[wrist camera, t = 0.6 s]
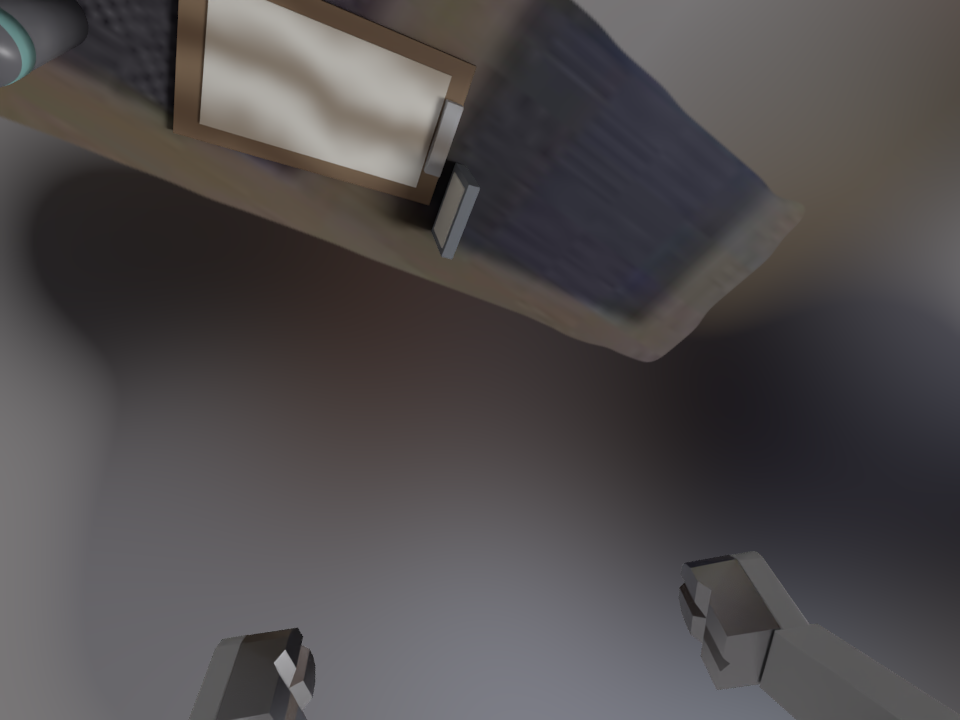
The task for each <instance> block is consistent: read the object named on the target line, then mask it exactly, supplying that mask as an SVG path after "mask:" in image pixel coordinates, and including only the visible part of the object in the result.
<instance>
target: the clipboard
mask: <svg viewBox="0 0 960 720" xmlns="http://www.w3.org/2000/svg"><path fill="white" fill-rule="evenodd" d="M475 70H476V66H475V65H473V64H470V63H468V62H466V61H463V60H461V59H459V58H456V57H454V56H452V55H449V54H447V53H445V52H442V51H440V50H438V49H435V48H433V47H431V46H428V45H426V44H424V43H421V42H419V41H417V40H414V39H412V38H409V37H407V36H405V35H402V34H400V33H398V32H395V31H393V30H391V29H388V28H386V27H384V26H381V25H379V24H377V23H374V22H372V21H370V20H367V19H365V18H363V17H360V16H358V15H356V14H353V13H351V12H349V11H346V10H344V9H342V8H339V7H337V6H335V5H332V4H330V3H328V2H325V1H323V0H179V6H178V29H177V52H176V75H175V98H174V121H173V133H176V134H179V135H183V136H186V137H190V138H193V139H197V140H201V141H204V142H208V143H211V144H215V145H218V146H222V147H225V148H229V149H232V150H236V151H239V152H243V153H246V154H250V155H253V156H257V157H260V158H264V159H267V160H271V161H275V162H278V163H282V164H285V165H289V166H292V167H296V168H299V169H303V170H306V171H310V172H313V173H317V174H320V175H324V176H327V177H331V178H334V179H338V180H341V181H345V182H349V183H352V184H356V185H359V186H363V187H366V188H370V189H373V190H377V191H380V192H384V193H387V194H391V195H394V196H398V197H401V198H405V199H408V200H412V201H415V202H419V203H423V204H426V205H429V204H430V201H431V198H432V195H433V192H434V189H435V186H436V184H437V181H438V178H439V177H440V175H441V172H442V169H443V166H444V163H445V161H446V158H447V155H448V152H449V149H450V146H451V143H452V140H453V137H454V134H455V132H456V129H457V126H458V123H459V120H460V117H461V114H462V111H463V108H464V107H463V105H464V102H465V99H466V96H467V93H468V90H469V87H470V84H471V81H472V79H473V76H474V73H475Z"/></svg>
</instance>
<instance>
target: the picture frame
mask: <svg viewBox="0 0 960 720" xmlns="http://www.w3.org/2000/svg"><path fill="white" fill-rule="evenodd" d="M479 190H480V187H479V186H478V184H477V182H476V181H475V179H474V178H473V176H472V175H471V173H470V171H469V170H468V168H467V167H466V166H465V165H461V164H458V163H455V166H454V168H453V171H452V174H451V177H450V180H449V182H448V185H447V188H446V191H445V194H444V197H443V199H442V202H441V205H440V208H439V211H438V213H437V216H436V219H435V222H434V225H433V227H432V230H431V231H432V234H433V236H434V239H435V241H436V244H437V246H438V249H439V251H440V254H441V256H442V257H445V258H449V259H452V258H453V256H454V253H455V251H456V248H457V246H458V243H459V241H460V238H461V235H462V233H463V230H464V228H465V225H466V223H467V220H468V218H469V215H470V213H471V210H472V208H473V205H474V202H475V200H476V197H477V195H478V192H479Z"/></svg>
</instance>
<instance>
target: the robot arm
mask: <svg viewBox="0 0 960 720" xmlns="http://www.w3.org/2000/svg"><path fill="white" fill-rule="evenodd" d="M681 576H682V578H683V580H684V583H683V585H681V586H680V588H679V602H680V607H681V612H682V615H683V618H684V620H685V623H686V625H687V627H688V630H689V632H690V634H691V635H692V636H693V637H695V638H696V639H697V640H699V641H700V642H701V643H702V651H701V658H702V660H703V662H704V664H705V666H706V668H707V670H708V673H709V675H710V677H711V679H712V681H713V683H714V685H715V687H716V689H717V690H721V689H728V688H736V687H743V686H750V685H758V684H760V688H761V689H763V690H764V691H765V692H766V693H767V694H768V695H769V696H770V697H772V698H773V699H774V700H775V701H776V702H777V703H779V705H780V706H782V707H783V708H784V709H785V710H786V711H787V712H788V713H789V714H791V715H792V716H793V717H794V718H795V719H796V720H960V715H959V714H958V713H956V712H954V711H953V710H951V709H950V708H948V707H947V706H945V705H944V704H942V703H940V702H939V701H937V700H936V699H934V698H932V697H931V696H929V695H928V694H926V693H924V692H923V691H922V690H920V689H919V688H917V687H915V686H914V685H912V684H911V683H909V682H908V681H906V680H904V679H903V678H901V677H899V676H898V675H897V674H895V673H893V672H892V671H890V670H889V669H887V668H886V667H884V666H883V665H881V664H879V663H878V662H876V661H875V660H873V659H872V658H870V657H868V656H867V655H865V654H864V653H862V652H861V651H859V650H858V649H856V648H854V647H853V646H851V645H850V644H848V643H847V642H845V641H844V640H842V639H840V638H839V637H837V636H836V635H834V634H832V633H831V632H829V631H828V630H826V629H825V628H823V627H822V626H820V625H818V624H809V623H808V621H807V620H806V619H805V617H804V616H803V614H802V613H801V611H800V610H799V609H798V607H797V606H796V604H795V603H794V601H793V600H792V599H791V597H790V596H789V594H788V593H787V591H786V590H785V589H784V587H783V586H782V584H781V583H780V582H779V580H778V579H777V577H776V576H775V574H774V573H773V572H772V570H771V569H770V567H769V566H768V565H767V563H766V562H765V560H764V559H763V557H762V556H761V555H760V554H758V553H757V552H753V551H751V552H746V553H741V554H735V555H725V556H720V557H714V558H709V559H703V560H698V561H692V562H687V563H684V564H683V565H682V568H681ZM302 639H303V636H302V634H301V632H300V631H299V629H298V628H291V629H285V630H279V631H272V632H265V633H259V634H253V635H244V636H238V637H232V638H227V639H222V640H221V642H220V643H219V644H218V646H217V647H216V649H215V651H214V653H213V656H212V659H211V661H210V664H209V667H208V670H207V672H206V675H205V677H204V680H203V683H202V685H201V688H200V691H199V693H198V696H197V699H196V701H195V704H194V707H193V709H192V712H191V715H190V717H189V720H307V719H306V717H305V715H304V712H303V710H304V708H305V707H306V706H307V704H308V703H309V702H310V700H311V699H312V697H313V692H314V686H315V663H314V658H313V655H312V653H311V651H310V649H309V648H307V647H304V646H302V645H301V644H302Z"/></svg>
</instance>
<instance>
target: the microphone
mask: <svg viewBox="0 0 960 720" xmlns="http://www.w3.org/2000/svg"><path fill="white" fill-rule="evenodd" d="M87 34H88V22H87V18H86V15H85V13H84V11H83V10H82V8H81V7H80V5H79V4H78V3H77V1H76V0H0V87H2V86H6V85H10V84H12V83H14V82H15V81H17V80H19V79H21V78H23V77H24V76H26V75H28V74H29V73H30V72H31V71H33V70H35V69H36V68H38V67H40V66H42V65H44V64H45V63H47V62H49V61H51V60H52V59H54V58H56V57H58V56H60V55H61V54H63V53H65V52H67V51H69V50H70V49H72V48H74V47H76V46H78V45H79V44H81V43H82V42H83V41H84V40H85V39H86V37H87Z"/></svg>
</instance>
